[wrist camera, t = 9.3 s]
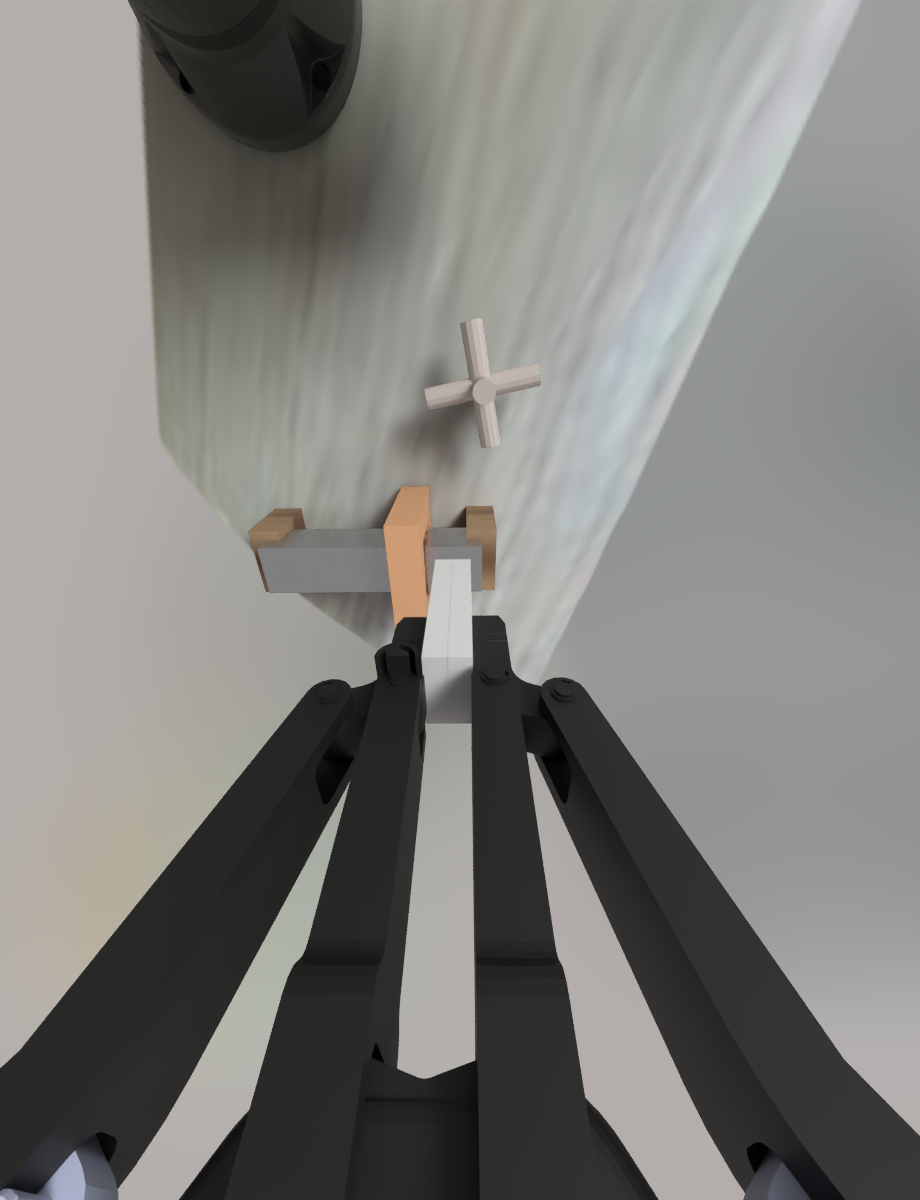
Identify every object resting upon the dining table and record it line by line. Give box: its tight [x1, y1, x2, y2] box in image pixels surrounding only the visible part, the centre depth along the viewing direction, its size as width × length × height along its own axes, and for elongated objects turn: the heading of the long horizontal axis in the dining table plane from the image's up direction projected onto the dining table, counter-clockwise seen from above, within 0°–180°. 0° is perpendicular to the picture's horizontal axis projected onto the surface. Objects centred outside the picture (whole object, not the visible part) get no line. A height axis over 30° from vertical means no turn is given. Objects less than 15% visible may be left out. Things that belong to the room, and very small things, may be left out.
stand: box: [248, 506, 496, 592], centre depth 47 cm, size 7×25×7 cm, turn 91°
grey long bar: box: [257, 528, 482, 593], centre depth 44 cm, size 5×22×5 cm, turn 91°
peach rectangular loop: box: [383, 486, 431, 628], centre depth 44 cm, size 12×3×12 cm, turn 1°
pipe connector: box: [425, 318, 541, 448], centre depth 37 cm, size 10×10×10 cm
